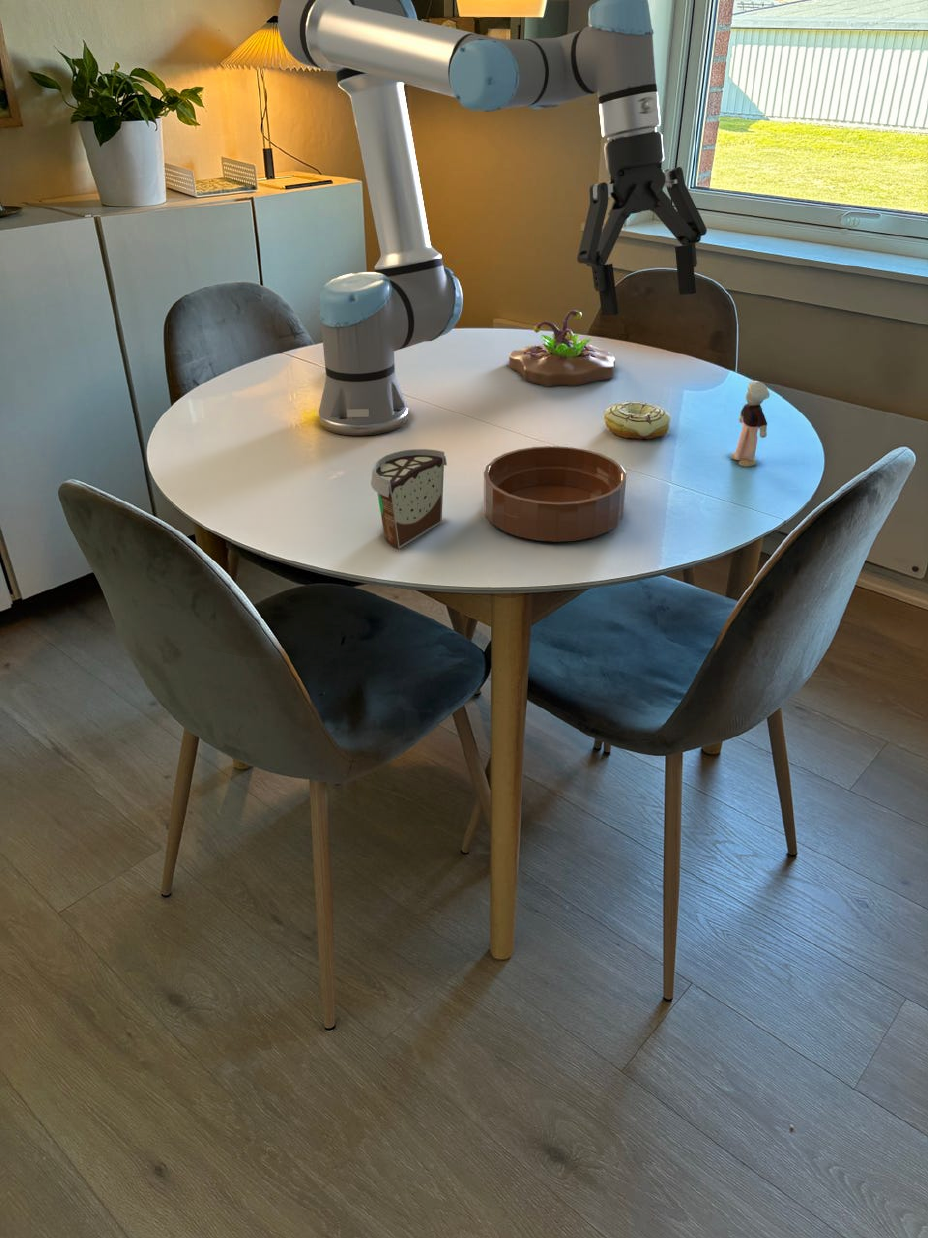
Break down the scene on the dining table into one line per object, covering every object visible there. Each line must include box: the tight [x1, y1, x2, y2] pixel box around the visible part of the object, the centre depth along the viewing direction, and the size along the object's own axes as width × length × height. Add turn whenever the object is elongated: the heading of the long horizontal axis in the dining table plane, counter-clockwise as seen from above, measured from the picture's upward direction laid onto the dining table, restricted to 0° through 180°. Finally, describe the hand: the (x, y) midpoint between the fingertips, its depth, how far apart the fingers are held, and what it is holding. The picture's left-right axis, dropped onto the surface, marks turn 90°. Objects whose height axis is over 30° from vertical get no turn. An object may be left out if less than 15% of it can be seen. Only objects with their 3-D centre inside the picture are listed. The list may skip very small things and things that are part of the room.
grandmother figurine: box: [730, 380, 771, 468], centre depth 140 cm, size 8×4×13 cm, turn 23°
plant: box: [508, 309, 616, 388], centre depth 180 cm, size 20×20×11 cm
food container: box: [370, 448, 448, 550], centre depth 123 cm, size 12×6×10 cm, turn 144°
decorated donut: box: [603, 401, 671, 440], centre depth 154 cm, size 10×11×4 cm
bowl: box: [483, 445, 627, 543], centre depth 128 cm, size 19×19×6 cm
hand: (649, 304), depth 129 cm, fingers open, 13 cm apart
